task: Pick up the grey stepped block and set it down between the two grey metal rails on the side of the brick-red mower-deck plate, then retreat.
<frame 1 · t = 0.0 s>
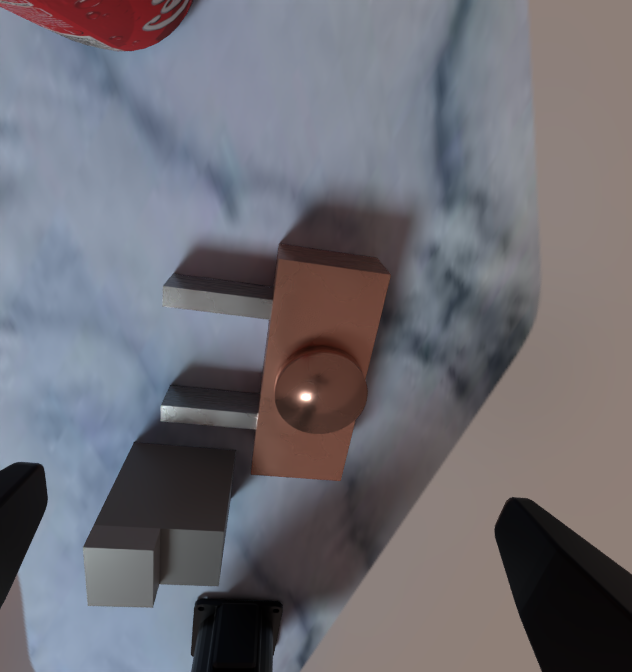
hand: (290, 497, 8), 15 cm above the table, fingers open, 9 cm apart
grey stepped block: (184, 471, 26), on the table
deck: (309, 356, 23), on the table
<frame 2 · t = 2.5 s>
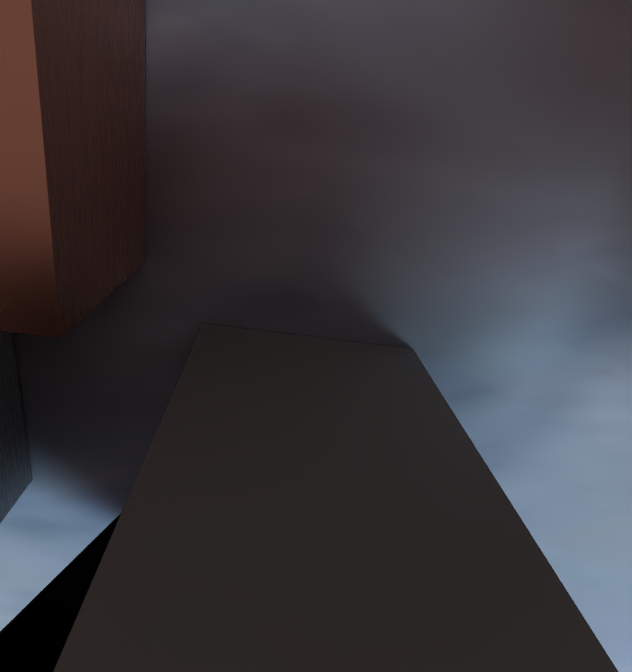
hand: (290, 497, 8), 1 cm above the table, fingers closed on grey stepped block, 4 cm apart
grey stepped block: (289, 461, 9), on the table, touching gripper
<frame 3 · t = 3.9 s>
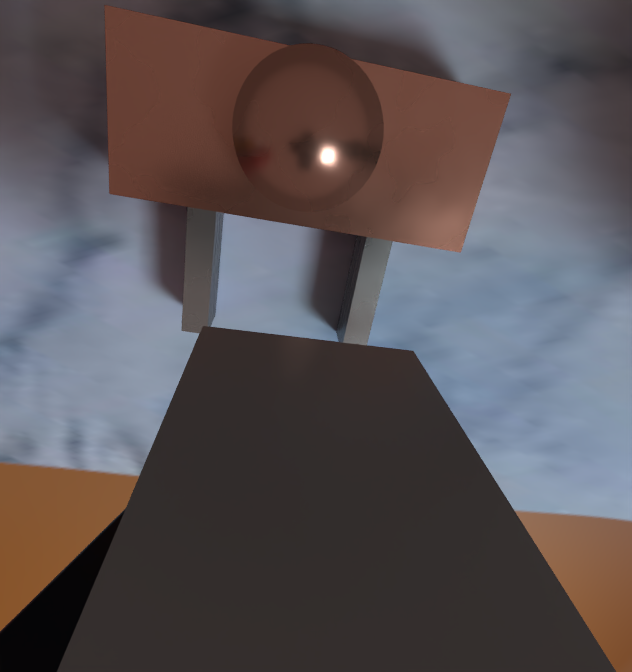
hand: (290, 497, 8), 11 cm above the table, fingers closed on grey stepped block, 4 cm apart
grey stepped block: (289, 463, 9), point 10 cm above the table, touching gripper
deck: (303, 144, 16), on the table
when the fingers open (3 cm above the table, at t = 5.7 s): grey stepped block drops 2 cm, on the table.
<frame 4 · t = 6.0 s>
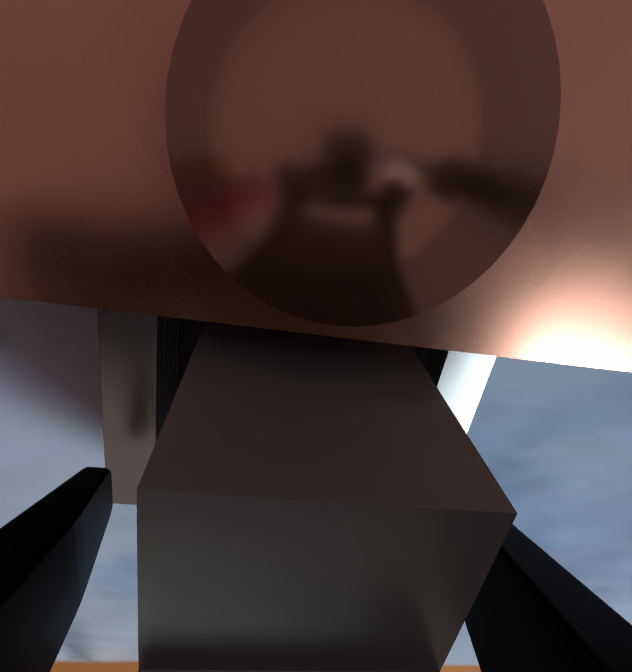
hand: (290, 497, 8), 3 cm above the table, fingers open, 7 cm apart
grey stepped block: (288, 408, 11), on the table
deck: (326, 160, 8), on the table
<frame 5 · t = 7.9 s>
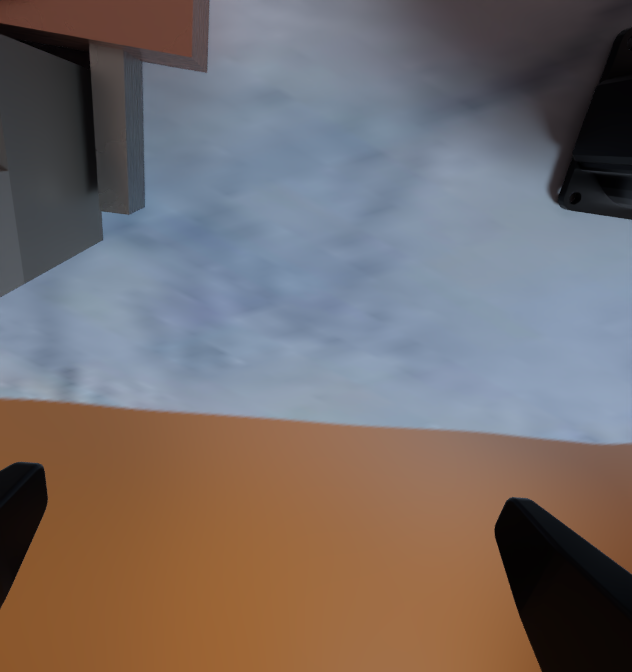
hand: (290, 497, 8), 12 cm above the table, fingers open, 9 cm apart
grey stepped block: (42, 153, 16), on the table
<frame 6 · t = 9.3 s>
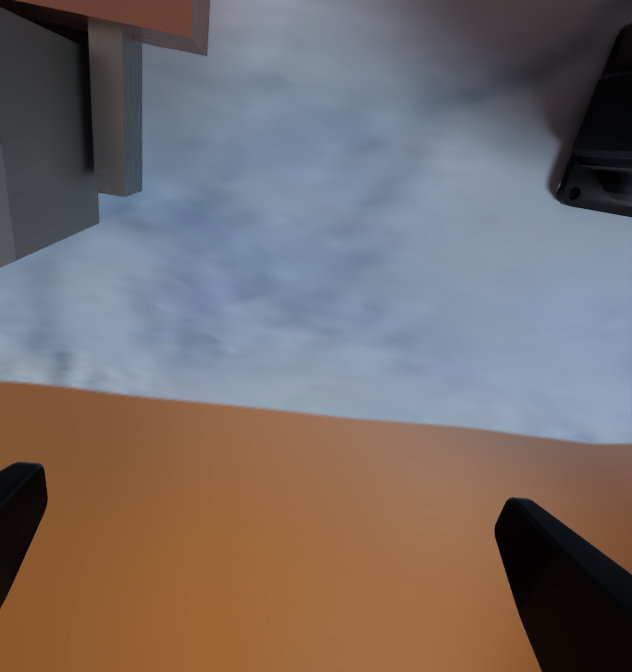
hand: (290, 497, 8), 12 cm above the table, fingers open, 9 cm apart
grey stepped block: (39, 133, 16), on the table
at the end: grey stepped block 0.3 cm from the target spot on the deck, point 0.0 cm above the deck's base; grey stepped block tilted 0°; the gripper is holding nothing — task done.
